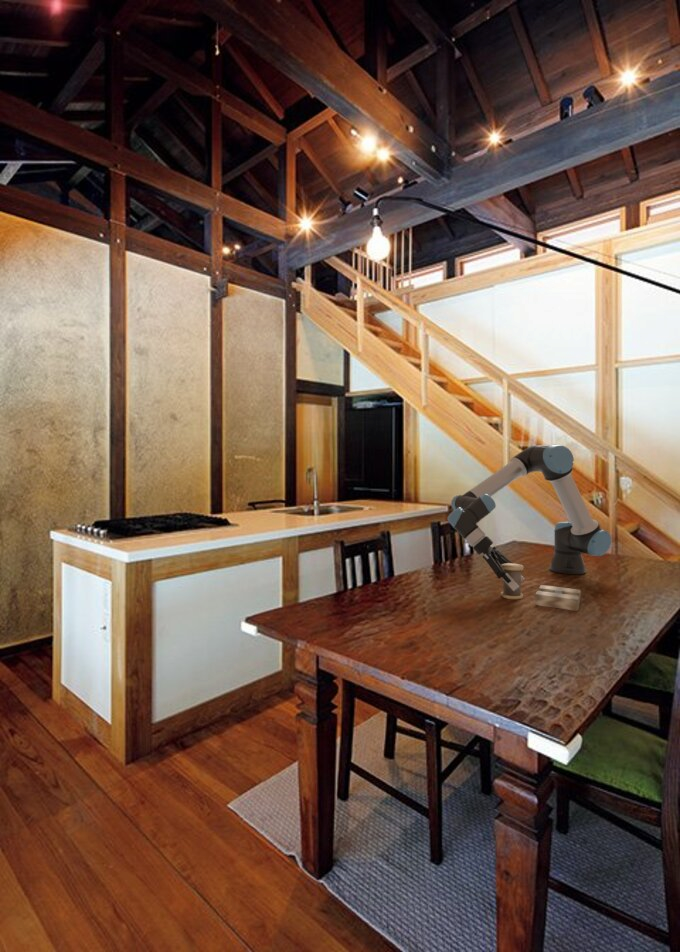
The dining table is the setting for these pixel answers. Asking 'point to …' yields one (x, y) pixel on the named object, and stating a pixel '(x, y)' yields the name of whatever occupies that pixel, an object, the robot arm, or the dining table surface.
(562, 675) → the dining table surface
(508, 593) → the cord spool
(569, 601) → the slotted stand
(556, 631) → the dining table surface
